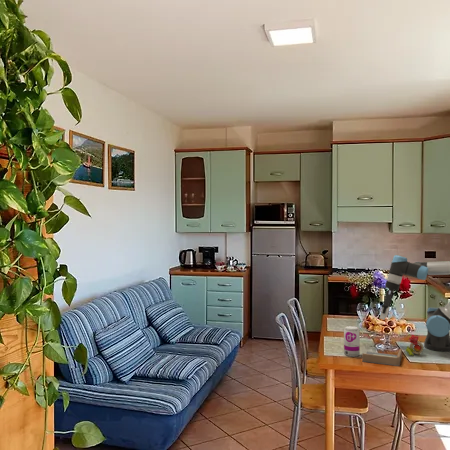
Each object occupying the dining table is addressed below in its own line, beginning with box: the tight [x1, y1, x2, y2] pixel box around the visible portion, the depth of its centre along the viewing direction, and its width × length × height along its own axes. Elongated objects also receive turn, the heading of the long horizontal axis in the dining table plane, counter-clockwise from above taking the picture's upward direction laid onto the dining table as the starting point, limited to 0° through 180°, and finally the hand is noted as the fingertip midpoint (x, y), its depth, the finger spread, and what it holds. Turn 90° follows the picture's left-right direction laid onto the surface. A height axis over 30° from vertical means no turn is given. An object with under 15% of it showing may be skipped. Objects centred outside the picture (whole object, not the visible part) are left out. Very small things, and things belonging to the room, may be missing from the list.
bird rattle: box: [405, 334, 425, 357], centre depth 245 cm, size 6×11×9 cm
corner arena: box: [361, 348, 403, 367], centre depth 238 cm, size 18×18×4 cm
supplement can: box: [343, 325, 361, 358], centre depth 246 cm, size 8×8×15 cm
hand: (383, 318), depth 255 cm, fingers open, 13 cm apart
